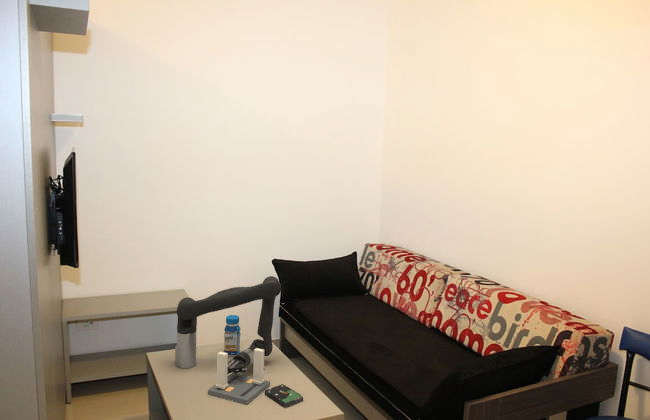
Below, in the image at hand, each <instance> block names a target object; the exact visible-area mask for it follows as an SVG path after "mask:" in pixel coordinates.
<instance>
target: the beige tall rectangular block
mask: <svg viewBox="0 0 650 420" xmlns="http://www.w3.org/2000/svg"><path fill="white" fill-rule="evenodd" d="M252 371H253V373H252V375H253V376H252V377H253V380H252V383H255V384H259V385H261V384H262V383H263V382H264V380H265V379H264V377H265V376H264V374H265V373H264V371H265V356H264V350H263V349H259V348H256V349H255V350H254V362H253V369H252Z"/></svg>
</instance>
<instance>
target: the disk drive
mask: <svg viewBox="0 0 650 420" xmlns="http://www.w3.org/2000/svg"><path fill="white" fill-rule="evenodd" d="M264 396H265V397H267V398H268V399H271V400H272V401H273V402H275V403H276V404H278V405H279V406H281V407H283V408H285V409H286V408H288V407H291V406H294V405H297V404H299V403H301V402H303V401H304V396H303V395H301V393H298V392H297V391H295V390H294V389H292V388H290V387H289V386H287V385H286V384H283V383H282V384H278V385H276V386H272V388H271V389H270V388H267V389H265V390H264Z"/></svg>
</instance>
